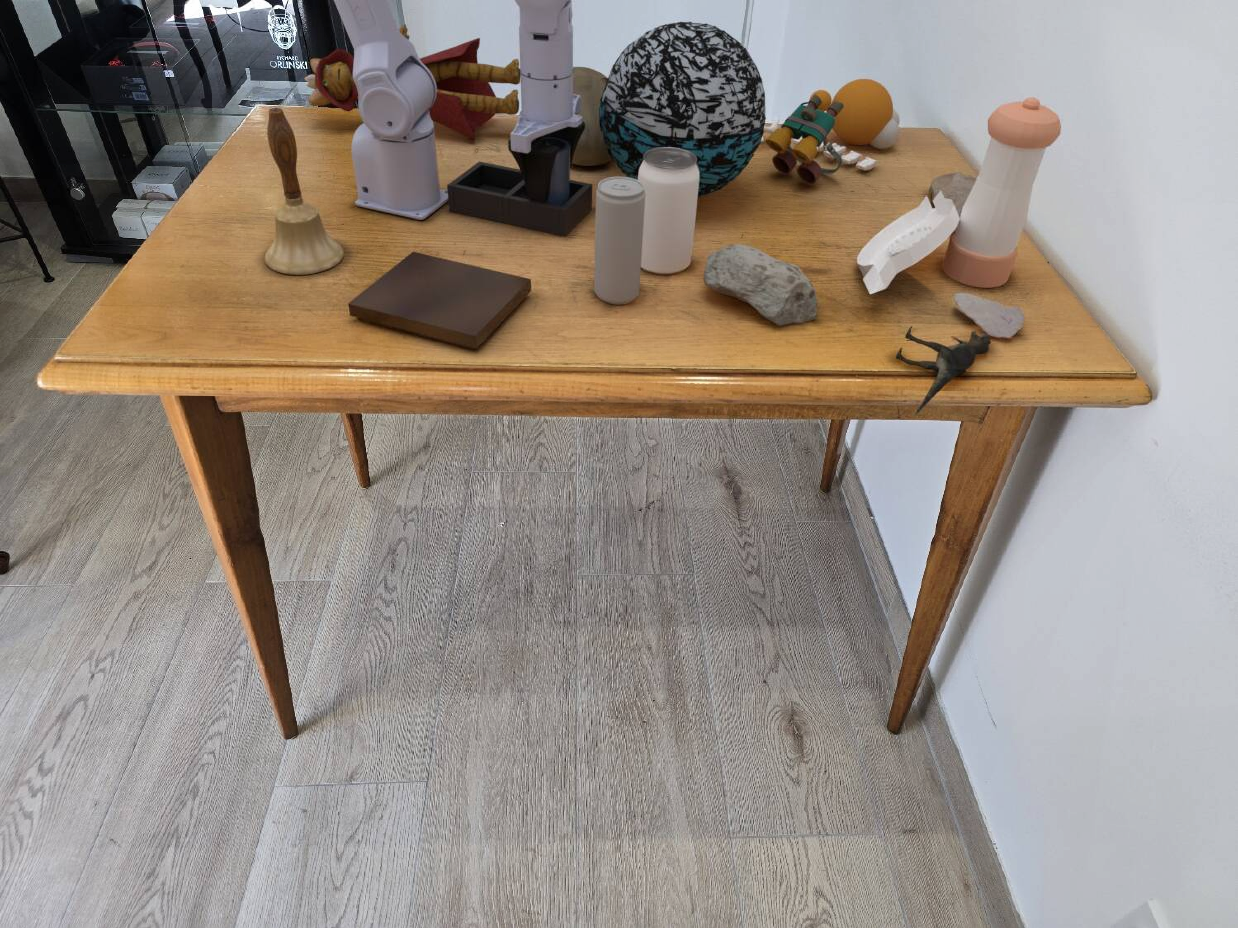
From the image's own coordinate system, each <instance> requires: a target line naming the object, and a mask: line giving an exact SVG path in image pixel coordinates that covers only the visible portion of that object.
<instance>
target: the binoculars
mask: <svg viewBox="0 0 1238 928" xmlns="http://www.w3.org/2000/svg"><path fill="white" fill-rule="evenodd" d="M809 99H810V98H809ZM807 102H808V104H804V105H800V104H799V106H798V107H796V109H795V110H794V111H793V112H792V113H791V114H790V115H788V116H787V118H786V119H785V120H784V122H783V123H782V125H781V126H780V128H777V129H776V130H775V131H774V132H773V133H772V134H771V133H770V135H769V136H768V137H767V139H766V140H765V143H766V145H767V147H768V148H770V149H771V150H773V151H774V152H776V154H775V155H774V156H772V157H771V158H772V159H771V161H772V165H773V167H774V168H775V169H776V170H777V171H778V172H779V173H781V174H783V175H785V176H786V175H790V174H791V173H792V171H793V170H794V168H795V167H796V166H797V163H799V164H800V165H798V166H797V168H796V173H797V175H798V177H799V178H800V179H801V180H802V181H803V182H804V183H806V184H808V185H812V186H813V185H815V184H816V183H817V181H818V180H819V179H820V177H821V176H822V174H827V175H831V174H835V173H836V172H837V171H838V170H839V169H840V168H841V166H842V165H843V163H842V158H841V157H842V155H841V156H840V155H839V154H838V153H837V152H836V151H835V149H834V148H833V146H832V144H833V142H832V141H831V140H829V139H828V135H829V133H830V132H831V131H832V130H833V129H832V128H833V126H834V125H835V119H834V116H837V115H838V113H839V112H840V111H841V110H842V109H843V107H844V105H843V104H842V103H841V102H833V103H832V102H831V103H832V104H831V105H830V107H829V108H828V111H827V112H826V111H824V112H823V111H820V110H816V109H817V108H818V107H819V106H820V105H821V103H822V101H821V99H820V98H819V97H818V96H817V95H816V94H815V95H814V96H813V97H812V98H811V99H810V101H809V100H808V101H807ZM815 110H816V111H815ZM801 136H802V139H801V140H800V141H799V142H798V143H797V144H795V145H794V146H793V148H792V146H791V144H792V140H793V139H797V140H798V139H800V138H801ZM822 142H823V148H824V150H825V151H828V152H829V153H831V154H832V155H833V156H834V157H835V160H836V161H837V167H836V168H833V169H831V168H830V169H829V168H825V167H821V165H820V164H819V163H818V162H817V161H815V160H814V158H815V157H816V156H817V154H818V151H817V148H816V147H820V145H821V144H822ZM828 142H830V143H829V145H828V146H827V148H826V149H827V150H826V149H825V146H826V145H827V143H828ZM824 150H823V151H824Z"/></svg>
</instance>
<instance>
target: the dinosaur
mask: <svg viewBox="0 0 1238 928" xmlns="http://www.w3.org/2000/svg"><path fill="white" fill-rule="evenodd" d="M912 328H913V326H910V327H909V329H908V330H907V332H906V334H905V337H904V338H905V339H906V342H909V341H911V342H914V343H916V344H918V345H923V346H926V347H928V348H930V349H932V350H933V351H935V352H936V353H937V355H936V359H935V361H934V360H920V361H919V360H912V359H908V358H906V357H905V356H903V355H902V352H903V347H900V348H899V350H898V352H897V354H896V355H895V359H896V360H899V361H901V362H903V363H905V364H907V365H908V366H909V365H910V366H916V367H919V368H922V369H924V370H926V371H930V370H931V371H933V372H935V373H937V376H936V378H935V380H934V381H933V383H932V385H931V386H930V388H929V390H928V391H927V393H926V394H925V397H924V398H923V400H922V402H921V404H920V405H919V407H918V409H917V411H916V412H915V414H914V416H917V415H918V413H919V412H920V411H922V410H923V408H924V407H925V406H926V405H928V403H929V402H930V401H931V400H932V399H933V398H934V397H935V396H936V395H937V394H938V393H939V392H940V391H941V390H942V389H943V388H944V387H945V386H946V385H948V383H951V381H952V380H954V379H955V378H959V377H960V376H963V374H965V373H967V370H968V369H969V368H970V367H971V366H972V365H973V364H974V363H975V360H976V357H977V356H978V355H979V356H980V355H984V354H985V355H986V354H987V353H988V352H989V351H990V350H989V349H990V348H989V347H990V346H989V345H991V343H992V341H991V337H990V335H988V334H987V333H982V334H981V336H980V335H979V334H977V333H978V332H977V331H975V330H972V331H971V333H970V338H969V341H968V342H967V341H963V340H961V339H959V338H958V337H955V336H950V337H951V338H952V340H954V341H957V342H958V343H957V344H952V345H949V346H946V345H943V344H942V343H938V342H935V341H927V340H923V339H921V338H918V337H916V336H913V335H912Z"/></svg>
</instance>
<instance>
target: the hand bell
mask: <svg viewBox="0 0 1238 928" xmlns="http://www.w3.org/2000/svg"><path fill="white" fill-rule="evenodd" d="M266 130H267V131H266V133H267V141H268V147H269V150H270V153H271V155H272V158H273V160H274V162H275V164H276V166H277V168H278V170H279V172H280V173H279V174H280V177H281V183H282V188H283V195H284V198H285V199H284V200H285V204H283V205H281V206H279V207H278V208H277V209H276V210H275V211H274V221H275V231H274V232H275V233H274V239H273V242H272V244H271V245H270V246H269V248H268V249H267V250H266V253H265V255H264V262H265V264H266V265H267V266H268V268H270V269H271V270H272V271H275V272H277V273H281V274H286V275H293V276H294V275H295V276H306V275H314V274H318V273H321V272H325V271H328V270H330V269H333V268H334V267H336V266H337V265H338V264H340V263H341V262H342V260H343V259H344V257H345V251H344V248H343V247H342V246H341V244H340V243H339V242H338V241H337V240H335V239H333V238H332V237H331V236H330V235H329V233H328V232H327V231H326V229H325V226H324V224H323V222H322V219H321V216H320V212H319V210H318V208H317V207H316V206H315V205H313V204H311V203H308V202H304V199H303V196H302V190H301V187H300V182H299V179H298V174H297V162H298V150H297V149H298V147H297V141H296V136H295V133H294V131H293V128H292V125H291V124H290V123H289V120H288V119H287V117H286V115H285V113H284V111H283V109H282V108H280V107H271V108H270V109H269V110H268V123H267V129H266Z"/></svg>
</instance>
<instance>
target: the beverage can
mask: <svg viewBox="0 0 1238 928" xmlns="http://www.w3.org/2000/svg"><path fill="white" fill-rule="evenodd" d="M644 208H645V191H644V185H643V183H641V182H640V181H638V180H636V179H633V178H629V177H628V176H610V177H606V178H603V179H601V180H600V181H599V182H598V184H597V188H596V193H595V222H594V264H593V265H594V267H593V268H594V269H593V270H594V271H593V292H594V294H595V295H596V296H597V297H598V299H600V300H601V301H603V302H605V303H607V304H610V305H616V306H617V305H626V304H629V303H631V302H633V301H634V300H635V299H636V298H637V297H638V296H639V294H640V287H641V271H642V269H641V256H642V240H643V224H644Z"/></svg>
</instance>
